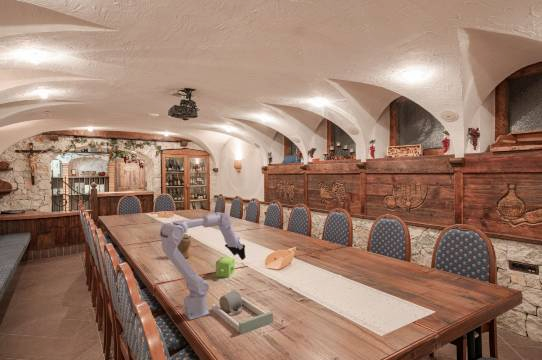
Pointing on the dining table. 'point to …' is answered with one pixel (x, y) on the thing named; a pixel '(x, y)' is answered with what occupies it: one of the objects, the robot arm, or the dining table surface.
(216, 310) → the grey u-shaped frame
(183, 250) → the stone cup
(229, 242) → the robot arm
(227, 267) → the green rounded oblong piece
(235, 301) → the ceramic mug
